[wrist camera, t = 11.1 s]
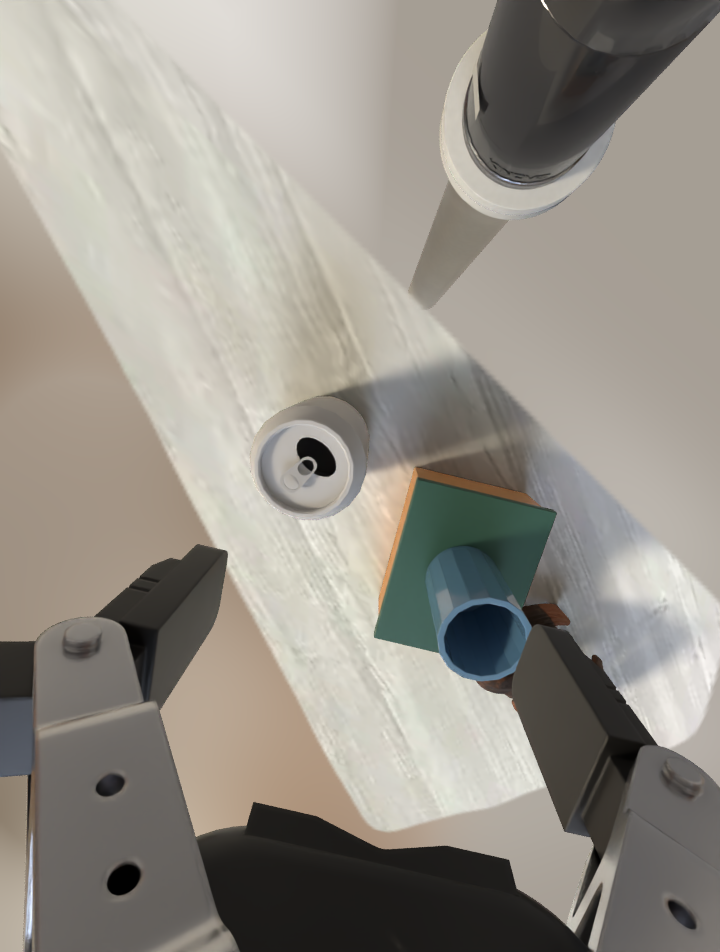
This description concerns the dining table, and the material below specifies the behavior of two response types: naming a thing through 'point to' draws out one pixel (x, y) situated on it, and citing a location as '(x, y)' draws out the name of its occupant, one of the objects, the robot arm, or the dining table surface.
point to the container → (449, 525)
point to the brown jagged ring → (535, 615)
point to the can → (311, 458)
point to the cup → (475, 615)
